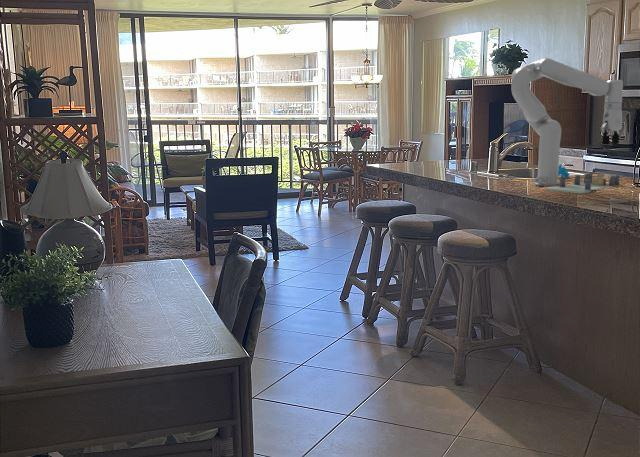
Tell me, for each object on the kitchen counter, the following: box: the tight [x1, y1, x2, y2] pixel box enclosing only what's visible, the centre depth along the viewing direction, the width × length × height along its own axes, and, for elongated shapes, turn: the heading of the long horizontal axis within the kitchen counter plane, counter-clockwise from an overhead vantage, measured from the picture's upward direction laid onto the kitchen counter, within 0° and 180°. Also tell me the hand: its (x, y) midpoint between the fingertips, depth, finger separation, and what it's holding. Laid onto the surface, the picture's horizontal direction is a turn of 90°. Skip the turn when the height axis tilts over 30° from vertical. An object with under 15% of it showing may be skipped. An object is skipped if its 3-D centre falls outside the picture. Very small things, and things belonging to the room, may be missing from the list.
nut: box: [592, 176, 607, 185], centre depth 325 cm, size 6×7×3 cm
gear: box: [558, 163, 570, 179], centre depth 362 cm, size 11×6×10 cm
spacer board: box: [545, 172, 621, 194], centre depth 319 cm, size 34×18×6 cm, turn 127°
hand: (610, 143), depth 327 cm, fingers open, 7 cm apart
